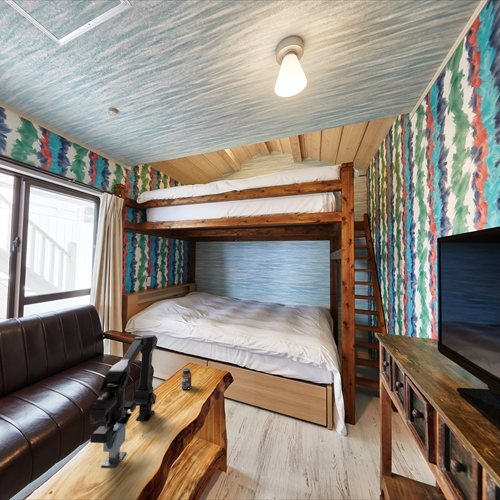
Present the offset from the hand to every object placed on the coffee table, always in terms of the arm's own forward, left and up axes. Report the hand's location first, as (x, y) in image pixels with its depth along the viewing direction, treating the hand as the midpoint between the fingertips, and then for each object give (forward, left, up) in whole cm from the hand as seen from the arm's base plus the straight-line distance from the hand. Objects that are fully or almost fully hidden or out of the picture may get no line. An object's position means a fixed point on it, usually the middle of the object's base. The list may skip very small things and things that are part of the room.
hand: (114, 442), depth 83 cm
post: (0, 0, -6) cm, 6 cm away
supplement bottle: (-49, +11, -7) cm, 51 cm away
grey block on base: (0, 0, -1) cm, 1 cm away
